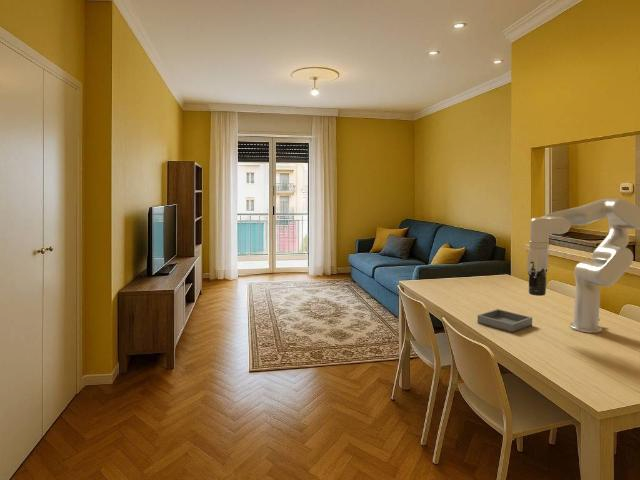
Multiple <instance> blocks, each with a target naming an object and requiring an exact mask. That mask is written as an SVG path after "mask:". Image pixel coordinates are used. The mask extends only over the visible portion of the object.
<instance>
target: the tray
mask: <svg viewBox="0 0 640 480" xmlns="http://www.w3.org/2000/svg"><path fill="white" fill-rule="evenodd" d="M476 323H477V324H479V323H480V325H483V324H484V325H483V326H486V325H487V327H490V328H493V329H496V330H500V331H504V332H507V333H511V334H513V333H514V334H515V333H517V332H519V331H522V330H524V329H526V328H530V327H532V326H533V317H531V316H527V315H523V314H519V313H515V312H512V311H507V310H503V309H498V308H496V309H492V310H490V311H487V312H486V311H485V312H484V313H481V314H480V313H479V314H477V322H476Z"/></svg>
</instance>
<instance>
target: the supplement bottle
mask: <svg viewBox="0 0 640 480" xmlns="http://www.w3.org/2000/svg"><path fill="white" fill-rule="evenodd" d="M534 271H535V270H534ZM533 273H534V272H533ZM543 273H544V269H542V270H541V271H539V272H537V276H536V278H537V287H533V286H529V285H528V293H529V295H532V296H537V297H539V296H541V297H542V296H545V295H546V294H547V292H546V291H547V274H546V275H545V274H543ZM534 274H535V273H534Z"/></svg>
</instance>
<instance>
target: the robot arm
mask: <svg viewBox="0 0 640 480" xmlns="http://www.w3.org/2000/svg"><path fill="white" fill-rule="evenodd" d="M606 218H608V219H607V222H608V229H609V231H608V234H607V235H606V237H605V238H604V239H603V240H602V241H601V242H600V244H599V245H598V246H597V247H596V248H594V250H593V252H592V254H591V257H592V260H593V261H587V260H586V261H585V260H584V261H580V262H578V263H577V264H576V265H575V266H574V270H573V274H574V281H575V295H574V297H575V298H574V312H573V313H574V315H573V322H570V324H569V328H571V329H572V330H575V331H577V332H581V333H588V334H590V333H591V334H598V333H601V332H603V328H602V327H601V326H600V325H599V322H600V320H601V319H600V317H599V315H600V303H601V302H600V300H601V288H600V286H601V287H604V288H605V287H606V288H607V287H611V286H613V285H614V284H615V283H616V282H617V281H618V280H619V279H621V277H622V276H623V275H624V274H625V273H626V271H628V269H629V268H630V267H631V265H632V264H633V261H634V254H633V251H632V250H631V249H630V248H628V247H627V246H628V244H629V242H630V237H629V232H628V229H630V230H640V207H639V206H638V205H636V204H634V203H632V202H631V201H629V200H626V199H623V198H601V199H598V200H596V201H595V200H594V201H592V202H589V203H586V204H584V205H581V206H576V207H571V208H566V209H563V210H562V209H561V210H558V211H553V212H551V213H548V214H545V215H542V216H541V217H532V218H531V219H530V220H529V223H530V225H529V241H528V242H529V244H528V245H529V247H528V253H527V257H526V260H527V261H526V271H527V275H528V287H529V286H533V287H537V278H536V276H537V272H539V271H541V270H542V269H544V273H543V274H545V275H546V276H547V272H548V269H549V249H550V248H549V246H550V245H549V243H550V234H553V235H555V234H556V235H563V234H565V233H567V232H569V230H570V228H571V226H585V225H589V224H592V223H595V222H598V221H600V220H603V219H606ZM534 270H535V271H534ZM533 272H534V273H535V274H534V273H533Z"/></svg>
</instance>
